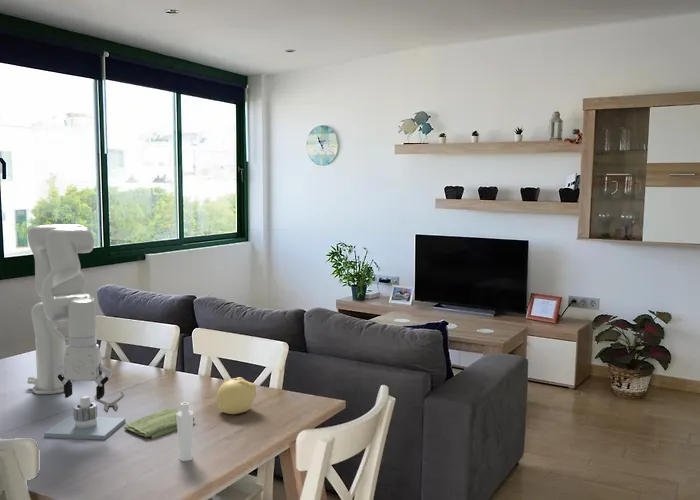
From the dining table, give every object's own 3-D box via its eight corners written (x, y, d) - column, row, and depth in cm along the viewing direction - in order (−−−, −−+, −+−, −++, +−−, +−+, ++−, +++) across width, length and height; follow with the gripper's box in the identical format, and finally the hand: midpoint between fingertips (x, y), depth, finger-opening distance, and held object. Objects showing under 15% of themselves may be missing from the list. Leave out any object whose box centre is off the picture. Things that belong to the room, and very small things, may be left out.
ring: (69, 420, 191) (69, 409, 191) (80, 413, 198) (80, 401, 197) (90, 421, 191) (90, 409, 190) (100, 413, 197) (100, 402, 197)
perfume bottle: (178, 454, 177) (177, 400, 175) (194, 454, 177) (193, 400, 176) (175, 462, 172) (174, 406, 171) (192, 461, 172) (191, 406, 171)
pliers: (120, 389, 230) (137, 405, 214) (120, 392, 231) (137, 408, 214) (91, 394, 225) (106, 411, 209) (92, 397, 225) (106, 413, 209)
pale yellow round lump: (260, 408, 214) (260, 375, 213) (239, 419, 203) (239, 386, 202) (231, 402, 219) (231, 371, 218) (209, 414, 208) (209, 381, 207)
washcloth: (121, 431, 194) (121, 421, 194) (170, 415, 208) (170, 405, 208) (148, 442, 186) (147, 431, 186) (197, 424, 200) (197, 414, 200)
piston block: (44, 437, 188) (42, 404, 187) (69, 419, 202) (67, 389, 201) (104, 439, 187) (103, 406, 186) (125, 421, 201) (124, 391, 200)
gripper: (47, 343, 189) (49, 400, 191) (105, 345, 187) (106, 403, 190) (61, 336, 196) (62, 391, 198) (116, 339, 195) (118, 394, 197)
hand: (84, 397), depth 194 cm, fingers open, 9 cm apart
